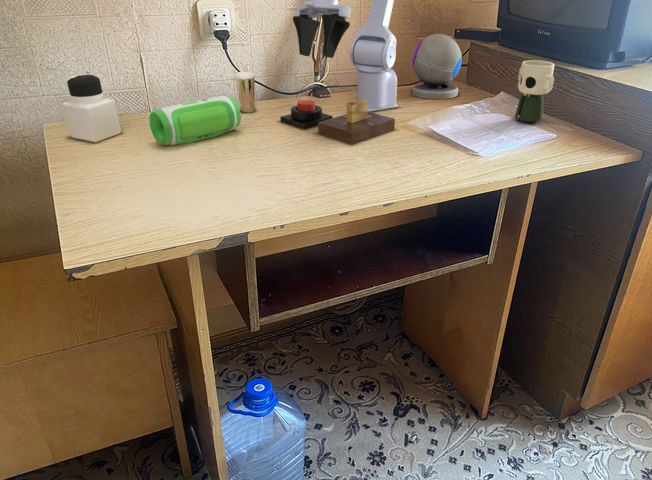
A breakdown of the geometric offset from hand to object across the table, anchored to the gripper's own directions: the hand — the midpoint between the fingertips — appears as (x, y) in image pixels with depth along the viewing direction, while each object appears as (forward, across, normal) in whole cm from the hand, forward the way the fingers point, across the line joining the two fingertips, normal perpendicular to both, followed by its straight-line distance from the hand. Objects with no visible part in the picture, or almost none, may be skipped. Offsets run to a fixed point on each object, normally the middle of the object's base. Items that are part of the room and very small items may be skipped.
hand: (316, 56), depth 110 cm
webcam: (0, -9, +50) cm, 51 cm away
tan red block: (+11, +2, +12) cm, 16 cm away
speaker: (+20, -16, -15) cm, 30 cm away
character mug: (+4, +22, +48) cm, 53 cm away
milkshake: (+13, -27, +3) cm, 30 cm away
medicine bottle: (+23, -31, -31) cm, 49 cm away
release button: (+11, -10, +7) cm, 16 cm away
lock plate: (+13, +2, +12) cm, 18 cm away
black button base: (+13, -10, +8) cm, 19 cm away
